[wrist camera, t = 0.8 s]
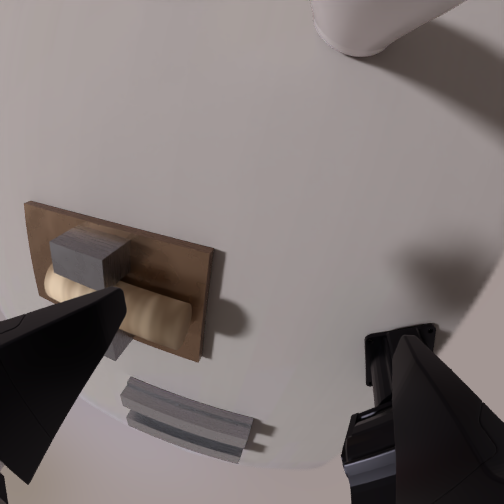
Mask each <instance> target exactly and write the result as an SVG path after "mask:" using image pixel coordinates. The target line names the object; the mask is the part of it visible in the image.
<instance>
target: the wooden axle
mask: <svg viewBox="0 0 504 504" xmlns="http://www.w3.org/2000/svg"><path fill="white" fill-rule="evenodd" d="M44 286H45V291H46V293H47V295H48V296H49V297H51V298H53V299H55V300H57V301H59V302H63V301H67V300H70V299H73V298H76V297H79V296H82V295H85V294H88V293H92V292H95V291H96V290H94V289H91V288H89V287H86V286H84V285H81V284H79V283H77V282H74V281H72V280H69V279H67V278H65V277H62V276H60V275H58V274H56V273H54V270H53V264H51V265H50V267H49V268H48V270H47V273H46V276H45V281H44ZM114 287H118V288H121V289H122V290H123V292H124V296H125V302H126V307H127V313H126V316H125V318H124V320H123V322H122V323H121V325H120V327H119V329H121V330H123V331H126V332H128V333H131V334H133V335H136V336H138V337H141V338H144V339H146V340H149V341H152V342H154V343H157V344H160V345H162V346H165V347H168V348H171V349H174V350H178V349H179V348H180V347H181V346H182V344H183V342H184V340H185V338H186V336H187V333H188V330H189V326H190V322H191V317H192V306H191V304H190V303H186V302H183V301H180V300H177V299H173V298H170V297H167V296H164V295H161V294H158V293H155V292H152V291H149V290H146V289H143V288H140V287H137V286H134V285H131V284H128V283H125V282H122V281H119V282H118V283H117V284H116V285H115V286H114Z"/></svg>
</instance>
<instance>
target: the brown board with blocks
mask: <svg viewBox="0 0 504 504" xmlns="http://www.w3.org/2000/svg"><path fill="white" fill-rule="evenodd" d="M24 209H25V218H26V227H27V234H28V241H29V247H30V253H31V259H32V264H33V269H34V274H35V279H36V283H37V288H38V292H39V296H41V297H43V298H45V299H47V300H49V301H51V302H53V303H55V304H57V303H60V302H59V301H57V300H55V299H53V298H51V297H49V296H48V295H47V293H46V291H45V286H44V281H45V276H46V273H47V270H48V268H49V267H50V265H51V264H53V270H54V273H56V274H58V275H60V276H62V277H65V278H67V279H69V280H72V281H74V282H77V283H79V284H81V285H84V286H86V287H89V288H91V289H94V290H96V291H98V290H101V289H104V288H107V287H110V286H115V285H116V284H117V283H118V282H119V281H122V282H125V283H128V284H131V285H134V286H137V287H140V288H143V289H146V290H149V291H152V292H155V293H158V294H161V295H164V296H167V297H170V298H173V299H177V300H180V301H183V302H186V303H190V304H191V306H192V317H191V322H190V326H189V330H188V333H187V336H186V338H185V340H184V342H183V344H182V346H181V347H180V348H179V349H178V350H174V349H171V348H168V347H165V346H162V345H160V344H157V343H154V342H152V341H149V340H146V339H144V338H141V337H138V336H136V335H133V334H131V333H128V332H126V331H123V330H121V329H118V331H117V333H116V335H115V337H114V339H113V341H112V343H111V344H110V346H109V348H108V350H107V351H106V353H105V355H104V356H106V357H108V358H110V359H112V360H114V361H116V360H117V359H118V357H119V356H120V355H121V354H122V352H123V351H124V350H125V348H126V347H127V346H128V344H129V343H130V342H131V341H132V339H134V340H137V341H139V342H142V343H145V344H147V345H150V346H152V347H155V348H158V349H161V350H163V351H166V352H169V353H172V354H175V355H177V356H180V357H183V358H186V359H189V360H192V361H195V362H198V363H199V361H200V359H201V356H202V349H203V339H204V329H205V319H206V310H207V301H208V292H209V284H210V275H211V267H212V259H213V251H214V248H210V247H206V246H202V245H198V244H194V243H190V242H186V241H182V240H179V239H175V238H171V237H167V236H163V235H159V234H155V233H151V232H147V231H144V230H140V229H136V228H132V227H128V226H124V225H120V224H117V223H113V222H109V221H105V220H101V219H97V218H94V217H90V216H86V215H82V214H78V213H75V212H71V211H67V210H63V209H59V208H56V207H52V206H48V205H44V204H41V203H37V202H33V201H29V202H26V203H24Z"/></svg>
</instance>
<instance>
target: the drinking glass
mask: <svg viewBox="0 0 504 504" xmlns="http://www.w3.org/2000/svg"><path fill="white" fill-rule="evenodd" d="M309 1H310V4H311V8H312V12H313V22H314V26H315V29H316V31H317V32H318V34H319V36H320V37H321V38H322V39H323V41H324V42H325V43H327V44H328V45H329V46H330V47H332V48H333V49H335V50H337V51H339V52H341V53H343V54H346V55H350V56H355V57H367V56H372V55H375V54H378V53H380V52H381V51H383V50H384V49H386V48H387V47H388V46H389V45H390V44H391V43H393V42H394V41H396V40H397V39H399V38H401V37H402V36H404V35H406V34H408V33H409V32H411V31H413V30H415V29H416V28H418V27H420V26H422V25H424V24H426V23H428V22H429V21H431V20H433V19H435V18H437V17H439V16H441V15H443V14H445V13H447V12H448V11H450V10H452V9H454V8H455V7H457V6H459V5H460V4H462V3H463V2H465V1H467V0H309Z"/></svg>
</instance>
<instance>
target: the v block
mask: <svg viewBox="0 0 504 504" xmlns="http://www.w3.org/2000/svg"><path fill="white" fill-rule="evenodd" d="M120 396H121V400H122V404H123V406H125V407H127V408H129V409H131V410H130V412H129V413H128V415H127V417H126V418H127V421H128V425H129V426H131V427H133V428H135V429H138V430H140V431H142V432H145V433H147V434H149V435H152V436H154V437H157V438H159V439H162V440H164V441H167V442H170V443H172V444H175V445H178V446H180V447H183V448H186V449H189V450H192V451H195V452H198V453H201V454H204V455H208V456H211V457H214V458H218V459H221V460H225V461H228V462H232V463H236V464H238V462H239V460H240V457H241V454H242V450H243V448H244V447H245V445H246V442H247V440H248V436H249V432H250V429H251V425H252V422H253V418H251V417H247V416H243V415H239V414H235V413H232V412H228V411H225V410H221V409H218V408H215V407H212V406H208V405H205V404H202V403H199V402H196V401H193V400H190V399H187V398H184V397H181V396H178V395H176V394H173V393H170V392H168V391H165V390H162V389H160V388H157V387H154V386H152V385H149V384H147V383H145V382H142V381H140V380H137V379H135V378H133V377H130V378H129V380H128V381H127V386H126V387H125V389H124V390H123V392H122V393H121V395H120Z"/></svg>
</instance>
